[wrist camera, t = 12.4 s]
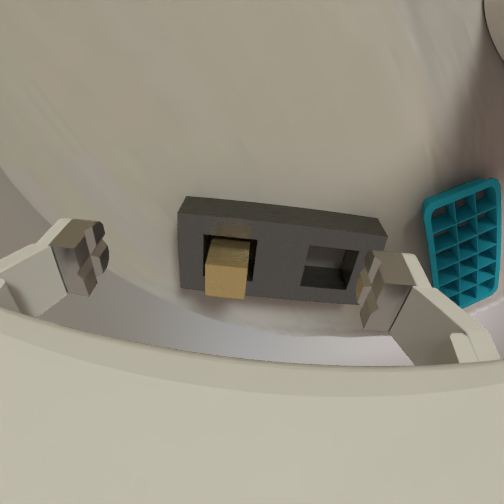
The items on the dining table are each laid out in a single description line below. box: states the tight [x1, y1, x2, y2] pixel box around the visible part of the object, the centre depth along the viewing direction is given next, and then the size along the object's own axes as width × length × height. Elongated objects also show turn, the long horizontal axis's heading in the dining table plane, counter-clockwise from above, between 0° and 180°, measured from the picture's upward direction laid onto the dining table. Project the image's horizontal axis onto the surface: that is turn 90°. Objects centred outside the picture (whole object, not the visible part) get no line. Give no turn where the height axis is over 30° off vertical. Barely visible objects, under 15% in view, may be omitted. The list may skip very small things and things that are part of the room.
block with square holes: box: [178, 196, 388, 305], centre depth 36 cm, size 22×10×4 cm, turn 84°
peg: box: [205, 235, 250, 300], centre depth 34 cm, size 4×4×8 cm
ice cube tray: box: [422, 178, 501, 309], centre depth 35 cm, size 12×20×3 cm, turn 26°
